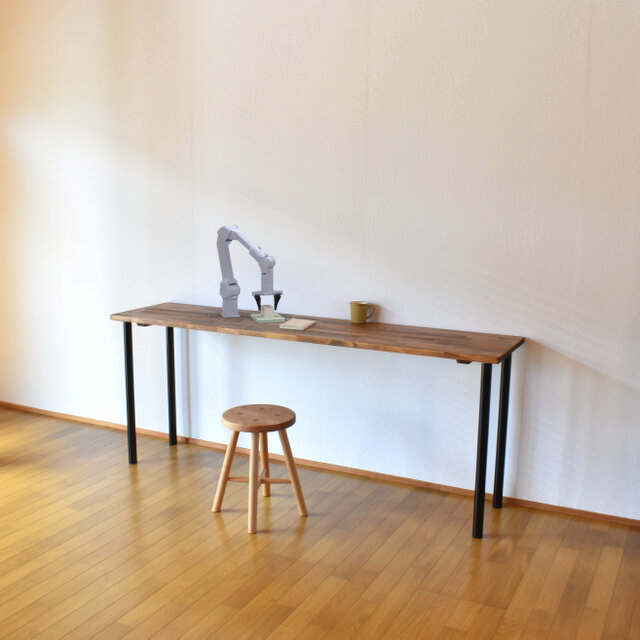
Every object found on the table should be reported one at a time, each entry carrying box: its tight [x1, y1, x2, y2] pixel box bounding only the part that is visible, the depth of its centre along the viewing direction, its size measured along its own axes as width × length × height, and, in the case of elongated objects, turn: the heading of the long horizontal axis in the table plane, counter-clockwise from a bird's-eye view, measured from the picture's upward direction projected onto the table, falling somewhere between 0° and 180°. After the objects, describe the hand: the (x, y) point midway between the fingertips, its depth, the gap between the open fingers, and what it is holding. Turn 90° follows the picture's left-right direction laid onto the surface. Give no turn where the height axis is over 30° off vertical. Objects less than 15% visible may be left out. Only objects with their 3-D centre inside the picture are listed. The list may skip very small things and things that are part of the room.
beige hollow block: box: [260, 304, 276, 318], centre depth 372 cm, size 9×5×5 cm, turn 18°
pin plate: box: [250, 312, 286, 324], centre depth 373 cm, size 16×13×5 cm
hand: (267, 310), depth 372 cm, fingers open, 7 cm apart
